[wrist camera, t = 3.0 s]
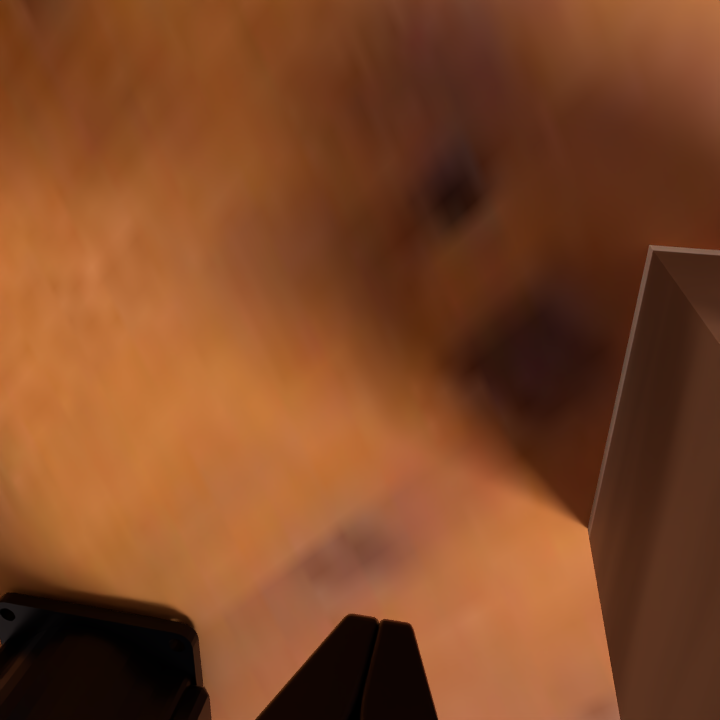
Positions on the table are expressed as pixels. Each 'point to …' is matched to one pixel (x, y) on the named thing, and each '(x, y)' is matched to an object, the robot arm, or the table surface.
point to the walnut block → (664, 497)
